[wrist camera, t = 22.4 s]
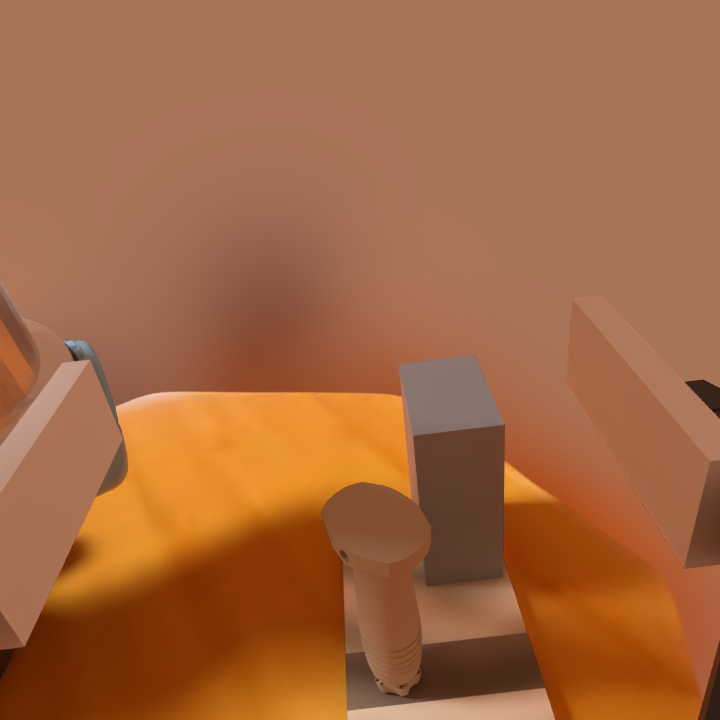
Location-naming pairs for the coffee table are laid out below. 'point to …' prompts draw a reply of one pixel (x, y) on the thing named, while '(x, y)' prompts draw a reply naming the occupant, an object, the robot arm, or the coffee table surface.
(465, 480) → the tall rectangular block
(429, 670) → the subfloor panel
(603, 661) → the coffee table surface
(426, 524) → the handle
